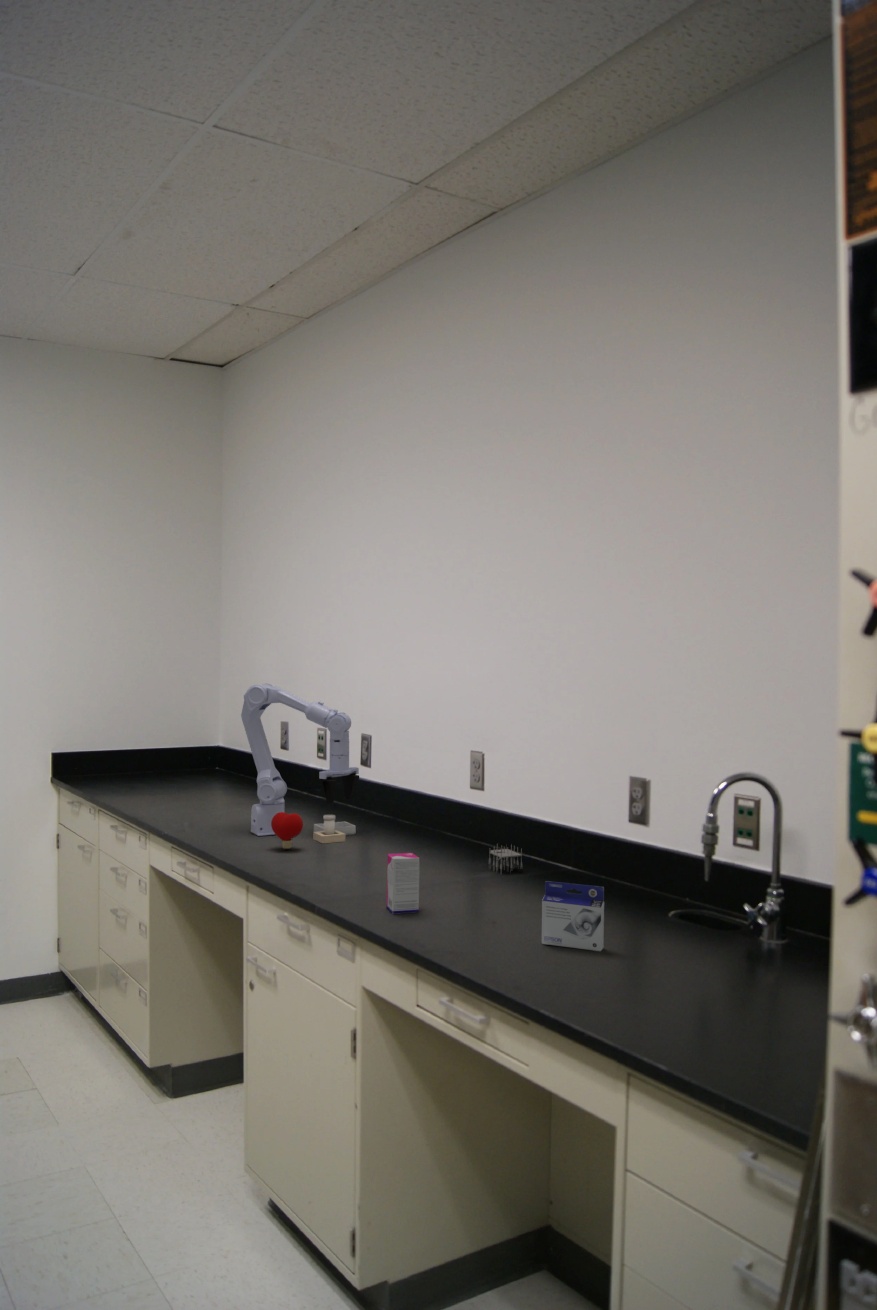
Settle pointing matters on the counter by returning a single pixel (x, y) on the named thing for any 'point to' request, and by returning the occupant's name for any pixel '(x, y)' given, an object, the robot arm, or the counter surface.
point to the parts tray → (338, 827)
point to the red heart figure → (286, 827)
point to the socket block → (329, 837)
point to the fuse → (329, 824)
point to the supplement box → (403, 883)
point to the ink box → (573, 916)
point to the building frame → (502, 854)
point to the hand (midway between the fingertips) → (339, 801)
